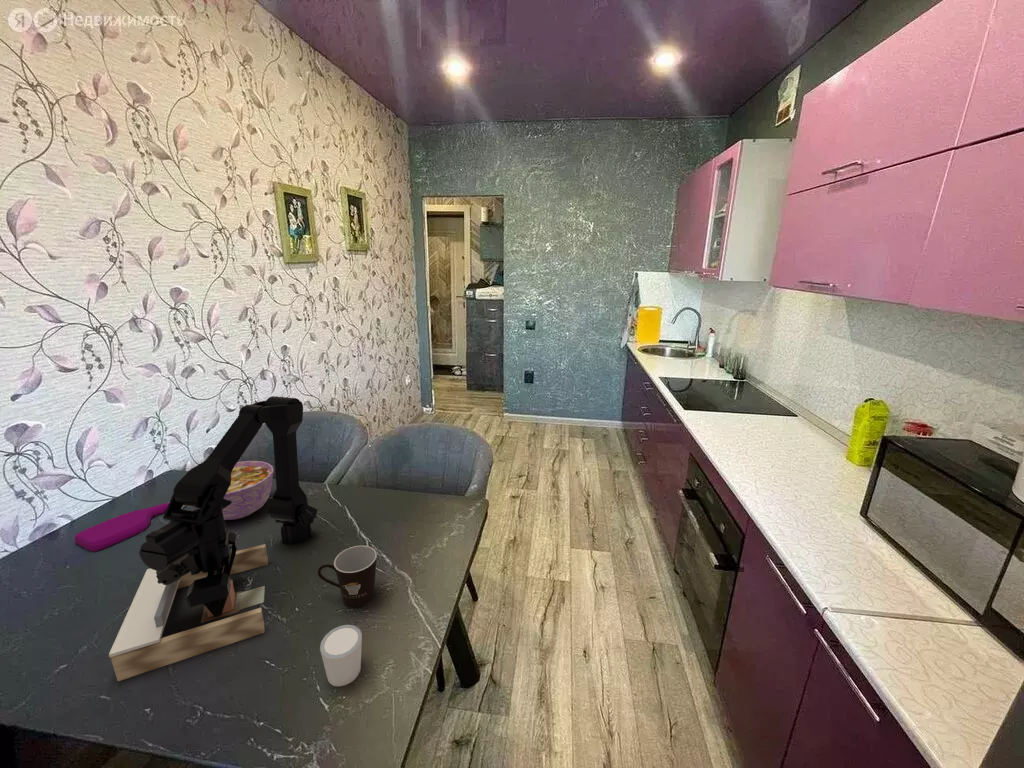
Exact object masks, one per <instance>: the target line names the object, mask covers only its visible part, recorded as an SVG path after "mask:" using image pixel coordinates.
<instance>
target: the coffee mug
mask: <svg viewBox="0 0 1024 768" xmlns="http://www.w3.org/2000/svg"><path fill="white" fill-rule="evenodd" d="M377 556H378V555H377V551H376V550H375V548H373V547H371V546H369V545H355V546H351V547H349V548H346V549H344V550H342V551H340V553H338V554H337V556H336V557H335V559H334V560H333V564H330V563H326V564H323V565H321V566H319V568H318V569H317V576H318V577H319V578H320V579H321V580H322V581H324V582H326V583H327V584H329V585H331V586H334V587H336V588H339V590H340V593H341V597H342V602H343V604H344V606H346V607H347V608H350V609H359V608H362V607H365V606H366V605H368V604H369V603H371V601H372V600H373V599H374V597H375V588H376V587H375V585H376V573H377V572H376V571H377V558H378V557H377ZM325 568H330V569H332V570H333V571H334V572H335V574H336V578H337V581H338V583H337V582H335V581H332V580H330V579H328V578H326V576H323V574H322V573H321V572H322V570H323V569H325Z"/></svg>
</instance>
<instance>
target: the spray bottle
mask: <svg viewBox="0 0 1024 768" xmlns="http://www.w3.org/2000/svg"><path fill="white" fill-rule="evenodd" d="M168 505H169V502H166V503H161V504H158V505H154V506H150V507H146V508H143V509H142V508H141V509H136V510H132V511H129V512H126V513H124V514H120V515H118V516H115V517H113V518H110V519H108V520H105V521H102V522H100V523H98V524H95V525H92V526H91V527H88V528H86V529H84V530H82V531H79V533H76V534H75V536H74V541H75V544H76V545H78V546H80V547H82V548H83V549H85V550H88V551H90V552H99V551H103V550H104V549H107V548H109V547H111V546H114V545H116V544H119V543H121V542H123V541H125V540H128V539H130V538H132V537H134V536H137V535H138V534H141V533H143V532H144V531H146V529H147V528H148V527H149V525H150V524H151V520H152V519H153V518H156V517H158V516H160V515H164V514H165V512H166V509H167V507H168ZM184 507H185V506H183V507H182V508H181V509H183V508H184Z"/></svg>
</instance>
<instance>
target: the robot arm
mask: <svg viewBox="0 0 1024 768" xmlns="http://www.w3.org/2000/svg"><path fill="white" fill-rule="evenodd" d="M303 416H304V405H303V402H302V401H301V400H299V398H296V397H286V396H275V395H273V396H272V395H271V396H270V397H268V398H267V399H266V400H260V401H256V402H253V403H252V404H246V405H243V406H242V407H240V409H239V411H238V415H237V417H236V419H235V420H234V421H233V423H232V424H231V425H230V427H229V428H228V430H226V432H225V434H223V436H222V437H221V439H220V440H219V442H218V443H217V444H216V446H215V447H214V448H213V450H212V451H211V453H209V455H208V456H207V457H206V459H205V460H204V461H202V462H200V463H199V464H197V465H195V466H193V467H192V468H191V469H189V470H188V471H187V472H186V474H184V476H182V478H181V479H179V481H178V482H177V483H176V485H175V486H174V488H173V493H172V496H171V498H170V500H169V502H168V503H169V505H168V507H167V509H166V512H165V513H163V518H162V519H163V520H165V521H169V522H168V523H167V524H165V525H164V526H161V527H160V528H159V529H156V530H153V531H152V532H150V533H148V534H146V535H145V540H146V541H145V542H143V543H142V544H141V545H140V550H139V552H138V554H139V557H140V560H141V561H142V562H143V563H144V565H146V567H148V569H153V570H156V574H157V576H156V577H157V578H158V581H157V582H158V583H159V584H161V583H162V584H163V585H169V584H171V583H173V582H175V581H177V580H179V579H180V578H181V577H182V576H184V575H186V574H187V573H189V572H190V571H191V575H195V574H199V573H200V572H203V573H207V572H208V575H207V577H205V578H201V579H197V580H195V581H194V582H193V583H192V584H191V585H190V586H188V589H187V594H186V597H185V600H186V604H187V607H188V608H189V607H190V608H193V607H194V608H195V607H197V606H200V605H204V606H206V607H207V609H208V610H209V611H210V612H211V613H212V615H213V616H214V617H218V616H221V615H222V612H223V609H224V606H225V603H226V600H227V597H228V595H229V592H230V586H231V584H230V580H231V578H230V577H231V575H230V572H231V569H232V565H233V561H234V558H235V555H236V551H238V536H237V535H238V534H237V533H235V532H233V531H229V529H228V528H226V522H225V520H224V516H223V511H222V510H223V509H224V508H225V507H227V506H228V505H230V504H231V503H232V501H230V500H226V499H224V496H225V494H226V492H227V490H228V488H229V486H230V484H231V472H232V470H233V468H234V466H235V465H236V463H237V462H239V460H240V459H241V457H242V456H243V455H244V453H245V451H246V450H247V448H248V447H249V445H250V444H251V443H252V441H253V440H254V438H255V437H256V435H257V434H258V433H259V431H260V430H261V428H262V426H263V425H266V427H267V428H268V430H269V431H270V433H271V434H272V443H273V457H274V458H273V459H274V471H275V473H274V474H275V485H276V486H275V491H274V493H273V495H272V496H271V497H268V499H267V501H266V502H267V514H268V515H269V516H270V518H271V519H273V520H274V522H275V523H277V524H278V523H280V524H282V525H281V526H280V535H281V541H282V545H299V544H302V543H305V542H307V541H308V540H310V539H312V538H313V534H312V531H313V529H312V525H311V524H313V523H314V522H315V519H316V518H317V515H318V509H317V508H316V507H313V506H310V505H309V502H308V498H307V497H308V496H307V494H306V493H305V492H304V490H303V489H302V488H301V486H300V481H299V479H300V478H299V464H298V463H299V461H298V445H297V442H298V441H297V430H298V429H299V427H300V426H301V424H302V423H303V418H304V417H303ZM183 506H184V507H190V508H194V509H193V510H188V509H183V508H184V507H183ZM182 507H183V508H182ZM195 508H196V509H195Z"/></svg>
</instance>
